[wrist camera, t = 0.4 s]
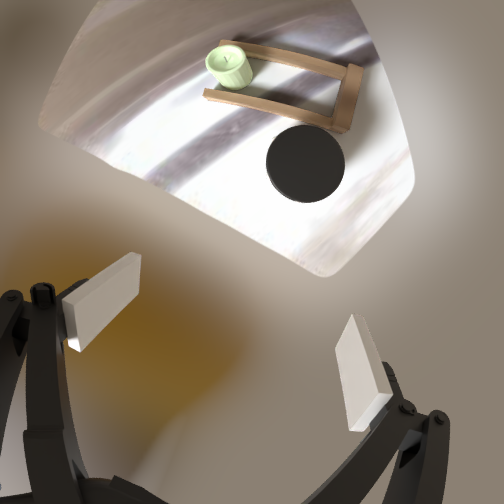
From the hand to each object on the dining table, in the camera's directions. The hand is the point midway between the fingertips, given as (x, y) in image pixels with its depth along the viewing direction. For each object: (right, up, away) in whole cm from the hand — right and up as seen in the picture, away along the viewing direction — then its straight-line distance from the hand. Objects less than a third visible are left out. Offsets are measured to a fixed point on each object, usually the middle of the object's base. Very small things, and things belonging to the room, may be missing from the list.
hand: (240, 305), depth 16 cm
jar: (+8, +16, +22) cm, 28 cm away
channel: (+5, +27, +19) cm, 33 cm away
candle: (-2, +29, +19) cm, 35 cm away
